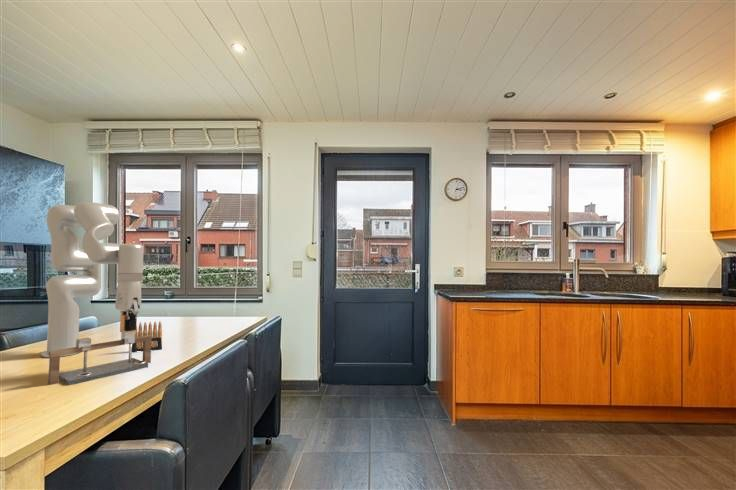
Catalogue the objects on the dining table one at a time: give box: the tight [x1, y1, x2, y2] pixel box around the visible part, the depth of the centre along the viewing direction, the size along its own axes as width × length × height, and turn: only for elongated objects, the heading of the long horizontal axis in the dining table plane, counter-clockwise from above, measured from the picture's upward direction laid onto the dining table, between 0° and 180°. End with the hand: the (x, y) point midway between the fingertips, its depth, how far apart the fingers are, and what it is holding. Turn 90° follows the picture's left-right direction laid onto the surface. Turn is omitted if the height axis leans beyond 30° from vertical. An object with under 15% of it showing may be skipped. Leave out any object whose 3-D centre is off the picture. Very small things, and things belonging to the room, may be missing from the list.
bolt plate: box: [59, 357, 149, 386], centre depth 116 cm, size 12×23×1 cm, turn 145°
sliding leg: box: [119, 314, 138, 363], centre depth 121 cm, size 5×4×16 cm
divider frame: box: [48, 334, 153, 385], centre depth 116 cm, size 4×28×12 cm, turn 145°
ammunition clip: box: [132, 320, 163, 353], centre depth 144 cm, size 11×2×12 cm, turn 116°
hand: (128, 329), depth 122 cm, fingers closed on sliding leg, 3 cm apart
